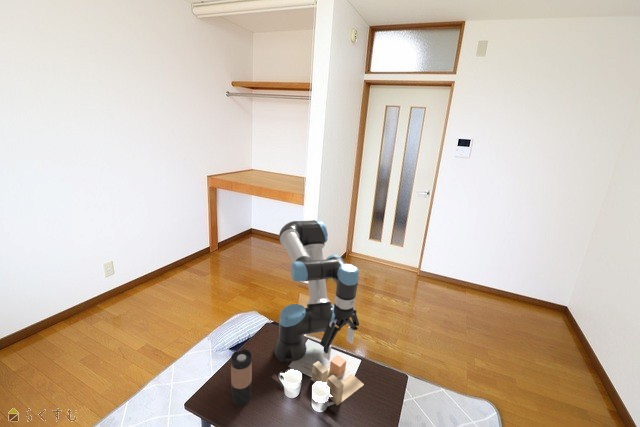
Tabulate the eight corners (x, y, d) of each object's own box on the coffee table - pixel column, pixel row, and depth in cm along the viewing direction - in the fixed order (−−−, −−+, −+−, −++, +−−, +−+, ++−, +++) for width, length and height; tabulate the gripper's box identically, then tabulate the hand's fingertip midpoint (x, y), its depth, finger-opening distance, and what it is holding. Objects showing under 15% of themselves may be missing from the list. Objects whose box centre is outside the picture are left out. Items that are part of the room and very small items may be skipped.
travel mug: (244, 409, 114) (244, 367, 108) (227, 402, 116) (226, 360, 110) (255, 393, 121) (255, 352, 115) (239, 387, 123) (238, 346, 117)
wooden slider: (310, 380, 128) (312, 363, 126) (337, 363, 139) (339, 347, 136) (321, 392, 123) (323, 374, 121) (348, 373, 134) (350, 356, 131)
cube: (329, 370, 133) (330, 360, 132) (336, 363, 137) (337, 354, 135) (338, 376, 130) (339, 366, 129) (345, 369, 134) (346, 360, 133)
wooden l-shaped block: (324, 395, 122) (326, 377, 119) (351, 376, 132) (353, 359, 130) (337, 407, 117) (339, 389, 114) (363, 386, 127) (366, 369, 125)
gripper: (328, 323, 102) (323, 371, 109) (372, 297, 119) (365, 340, 126) (313, 312, 107) (309, 359, 114) (357, 288, 124) (351, 330, 131)
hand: (338, 349), depth 120 cm, fingers open, 13 cm apart
